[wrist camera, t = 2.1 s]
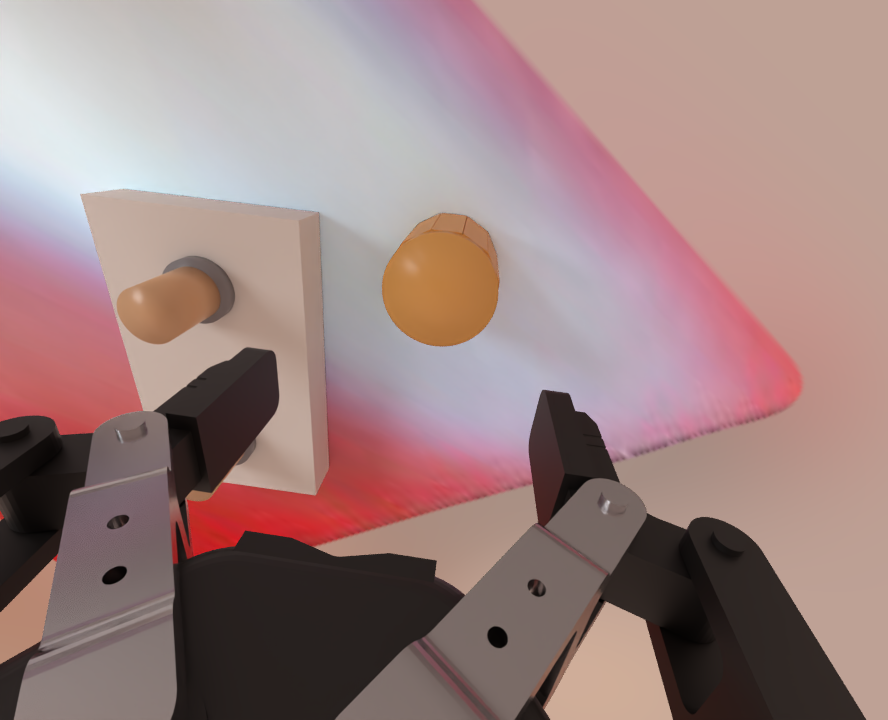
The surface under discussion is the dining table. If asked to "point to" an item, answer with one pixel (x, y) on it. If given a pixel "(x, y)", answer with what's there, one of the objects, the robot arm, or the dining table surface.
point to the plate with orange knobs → (222, 312)
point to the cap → (442, 281)
